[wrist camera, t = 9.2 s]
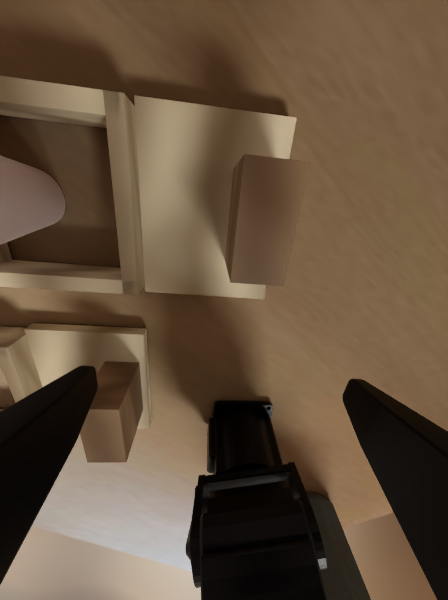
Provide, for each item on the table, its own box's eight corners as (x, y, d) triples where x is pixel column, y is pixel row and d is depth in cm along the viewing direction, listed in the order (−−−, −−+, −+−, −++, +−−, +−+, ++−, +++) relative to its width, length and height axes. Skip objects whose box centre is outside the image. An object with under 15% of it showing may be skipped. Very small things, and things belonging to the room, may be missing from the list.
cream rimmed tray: (291, 122, 14) (340, 75, 9) (261, 294, 19) (281, 332, 14) (-63, 75, 12) (-273, -22, 7) (4, 277, 17) (-91, 313, 12)
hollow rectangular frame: (146, 328, 20) (122, 377, 14) (151, 420, 25) (135, 483, 19) (-112, 316, 18) (-251, 366, 13) (-52, 418, 23) (-133, 486, 18)
